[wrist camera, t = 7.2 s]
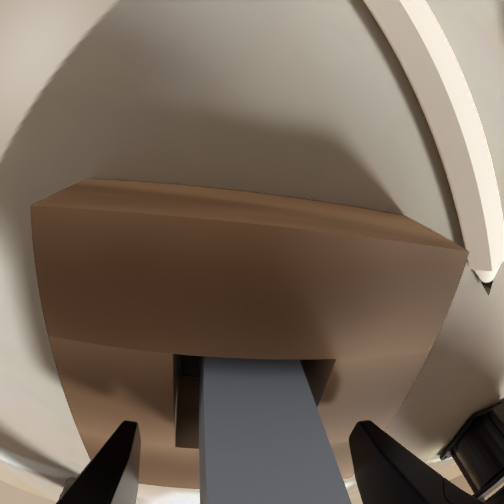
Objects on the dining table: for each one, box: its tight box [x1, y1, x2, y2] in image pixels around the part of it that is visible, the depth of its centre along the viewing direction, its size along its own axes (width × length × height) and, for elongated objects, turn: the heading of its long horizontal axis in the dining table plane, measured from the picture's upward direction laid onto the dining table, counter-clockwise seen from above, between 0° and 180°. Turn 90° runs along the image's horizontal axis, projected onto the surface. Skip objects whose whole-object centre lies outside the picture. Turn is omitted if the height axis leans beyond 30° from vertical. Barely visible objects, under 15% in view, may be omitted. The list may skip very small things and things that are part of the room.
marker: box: [363, 0, 504, 296], centre depth 10 cm, size 3×2×16 cm
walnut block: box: [31, 179, 469, 489], centre depth 11 cm, size 12×12×4 cm
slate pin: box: [199, 356, 351, 504], centre depth 8 cm, size 3×3×10 cm
